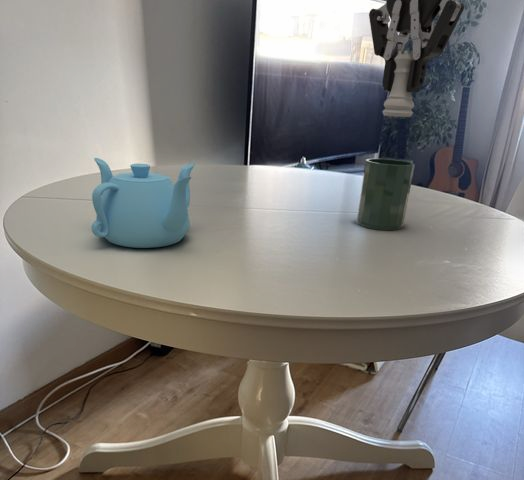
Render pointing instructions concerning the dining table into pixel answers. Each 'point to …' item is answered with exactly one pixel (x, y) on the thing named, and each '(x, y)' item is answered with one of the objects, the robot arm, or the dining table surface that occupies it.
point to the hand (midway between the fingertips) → (401, 91)
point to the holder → (384, 193)
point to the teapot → (141, 207)
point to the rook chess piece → (400, 88)
